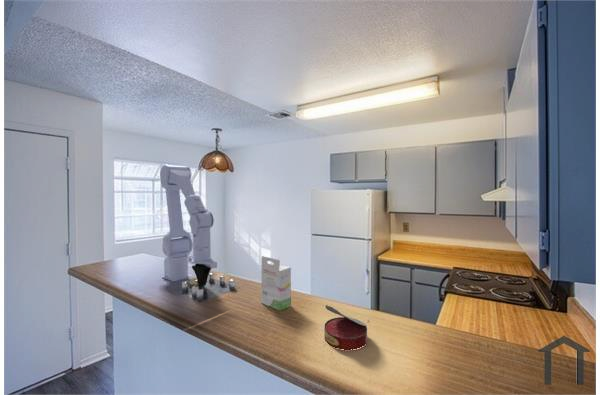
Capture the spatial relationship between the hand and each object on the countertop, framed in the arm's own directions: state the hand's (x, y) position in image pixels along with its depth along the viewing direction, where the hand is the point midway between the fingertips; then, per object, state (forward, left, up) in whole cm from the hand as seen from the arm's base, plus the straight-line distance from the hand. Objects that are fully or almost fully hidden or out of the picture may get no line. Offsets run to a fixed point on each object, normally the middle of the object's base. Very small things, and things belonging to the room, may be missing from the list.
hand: (202, 285), depth 100 cm
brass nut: (-3, 0, -1) cm, 4 cm away
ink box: (+30, +6, -2) cm, 30 cm away
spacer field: (+3, 0, -1) cm, 4 cm away
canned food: (+56, +2, -2) cm, 56 cm away
